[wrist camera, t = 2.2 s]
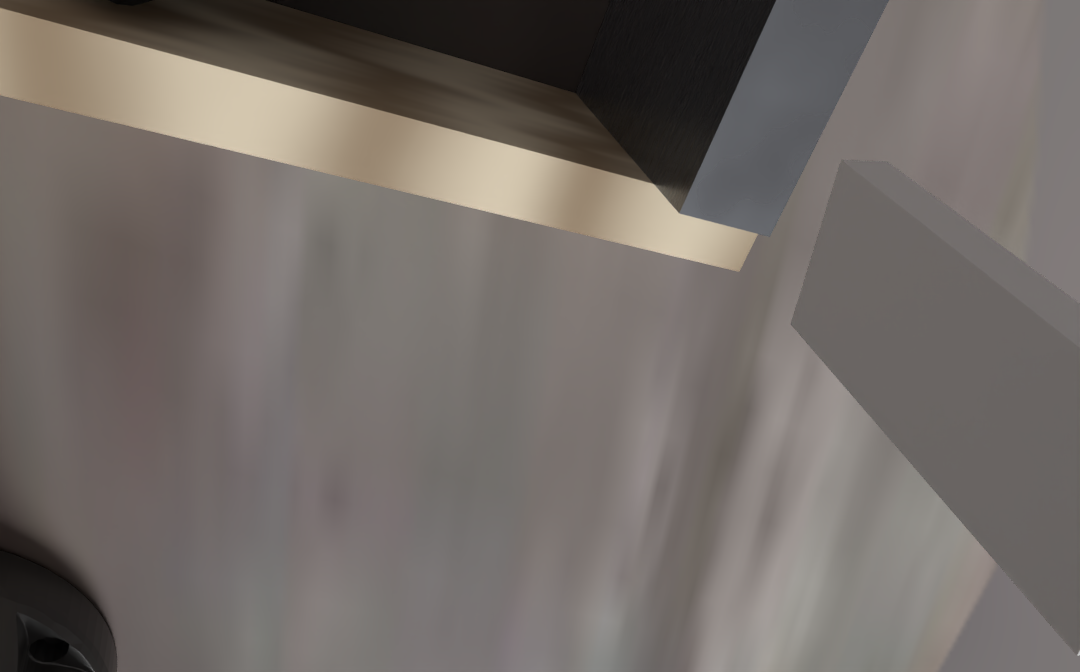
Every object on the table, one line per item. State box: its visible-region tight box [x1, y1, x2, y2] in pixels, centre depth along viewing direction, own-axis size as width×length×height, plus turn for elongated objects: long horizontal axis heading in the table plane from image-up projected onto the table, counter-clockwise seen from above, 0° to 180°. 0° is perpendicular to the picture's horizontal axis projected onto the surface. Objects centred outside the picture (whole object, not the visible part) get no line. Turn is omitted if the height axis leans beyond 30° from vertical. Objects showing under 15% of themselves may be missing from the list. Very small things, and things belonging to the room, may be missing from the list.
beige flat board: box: [0, 0, 758, 272], centre depth 29 cm, size 24×2×8 cm, turn 69°
